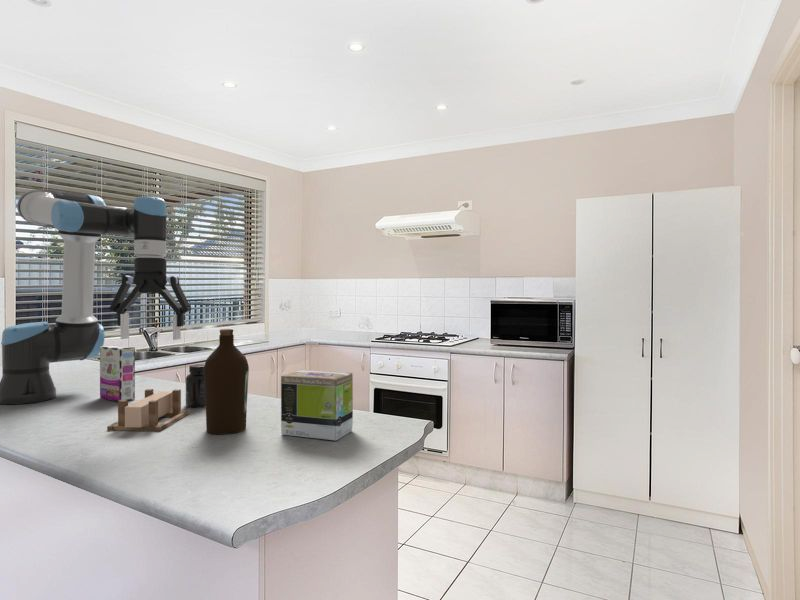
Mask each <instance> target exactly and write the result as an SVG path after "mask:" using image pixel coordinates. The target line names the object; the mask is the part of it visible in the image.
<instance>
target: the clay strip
mask: <svg viewBox="0 0 800 600" xmlns="http://www.w3.org/2000/svg"><path fill="white" fill-rule="evenodd" d="M151 400H158V419H160V418H162V417H161V416H163V415H165V414H166V413H168V412H170V411H172V391H163V390H162V391H158V392H157V391H156V392H155V393H153V395H150V396H148V397H146V398H145V397H144V398H142V399H140V400H137V401H135V402H133V403H130V404H128V406H126V407H125V427H139V428H141V427H143V426H145V425H147V424H148V423H149V401H151Z"/></svg>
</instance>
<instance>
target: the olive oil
mask: <svg viewBox="0 0 800 600" xmlns="http://www.w3.org/2000/svg"><path fill="white" fill-rule="evenodd" d="M234 337H235V335H234V329H231V328H225V329H219V338H218V339H219V344H218V346H217V347H216V348H215V349H214V350H213V351H212V352H211V353H210V354H209V355H208V357H206V360H205V362H204V384H205V402H206V407H205V421H206V423H205V424H206V425H205V427H206V432H208V433H209V434H212V435H230V434H236V433H240V432H243V431H244V430H246V428H247V411H248V410H247V407H248V389H249V375H250V373H249V371H250V370H249V369H250V367H249V363H248V359H247V357H246V356H245V355H244V354H243V352H241V351H240V350H239V349H238V347H236V346H235V344H234V341H235V340H234V339H235V338H234Z"/></svg>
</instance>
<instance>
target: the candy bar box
mask: <svg viewBox="0 0 800 600" xmlns="http://www.w3.org/2000/svg"><path fill="white" fill-rule="evenodd" d="M135 350H136V347H134V346H133V347H132V346H122V345H103V346H101V347H100V353H99V398H100V399H102V400H107V401H113V402H118V401H120V400H128V402H130V401H133V400H134V401H135V399H136V397H135V395H136V391H135V390H136V389H135V388H136V387H135V386H136V385H135V384H136V383H135V379H136V366H135V365H136V364H135V363H136V361H135V359H136V351H135Z"/></svg>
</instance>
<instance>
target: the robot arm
mask: <svg viewBox="0 0 800 600" xmlns="http://www.w3.org/2000/svg"><path fill="white" fill-rule="evenodd" d="M16 206H17V208H16V209H17V211H18V214H19V216H20V217H21V218H22V219H23V220H24V221H26V222H27V223H30V224H32V225H34V226H35V225H36V226H38V227H41V228H42V227H44V228H48V229H49V228H51V229H55V230H57V232H58V236H59V237H61V239H62V240H63V257H62V258H63V264H62V292H61V293H62V294H61V295H62V297H61V315H59V316H58V317H56V318H55V325H50V323H49V322H48V321H39V322H38V321H36V322H35V321H34V322H27V323H21V324H15V325H10V326H8V327H6V328H4V330H2V335H1V342H0V344H1V358H2V359H1V363H2V367H1V368H2V371H1V372H2V376H1V379H0V405H22V404H31V403H33V404H34V403H39V402H44V401H48V400H51V399H54V398H56V397H57V388H56V387H55V386H56V385H55V383H54V381H53V378H52V375H51V373H50V363H51V364H52V363H58V362H59V363H60V362H61V363H62V362H71V361H84V360H90V359H91V360H92V359H94V358H97V356H100V347H101V346H105V345H104V344H105V338H106V336H105V335H106V334H105V328H104V326H103V325H102V323H101V324H100V323H99V320H98V318H97V317H96V316H95V315H94V289H95V288H94V287H95V285H94V283H95V265H96V264H95V262H96V261H95V260H96V243H97V241H99V240H100V239H101V238H102V235H109V236H120V237H125V238H133V242H134V244H133V245H134V247H133V249H134V250H133V253H134V256H136V257H135V258H134V260H133V265H134V267H133V269H134V276H131V275H122V276H121V283H120V286H119V288H118V289H117V292H116V294H115V296H114V297H113V300H112V303H110V307H109V311H111V312H115V313H116V314H117V320H116V321H117V323H116V324H117V326H118V327H120V340H127V339H129V338H130V313H127V311H128V310H129V309H130V308H131V307H132V306H133V304H134V303H135V302H136V300H138V298H140V296H141V295H143V294H159V296H161V297H162V298H163V299H164V301H165V302H166V303H167V304H168V305H169V306H170V307H171V309H172V310H173V311H174V314H173V315H172V340H173V341H177V340H181V336H182V335H181V334H182V333H181V327H184V325H185V314H186V313H189V312H191V311H192V307H191V305H190V303H189V301H188V299H187V297H186V294H185V292H184V291H183V289H182V286H181V285H180V278H179V276H175V275H172V276H169V277H168V276H167V259H166V258H165V257H166V256H168V255H167V215H168V212H167V203H166V201H165V200H164V199H163V198H161V197H157V196H148V195H147V196H144V195H143V196H142V195H141V196H136V197H135V198H134V199H133V205H132V207H123V206H113V205H106V203H105V200H104V199H102V198H101V197H100V196H97V195H94V194H88V193H80V192H71V191H64V190H57V189H56V190H55V189H46V188H45V189H44V188H43V189H41V188H40V189H34V190H30V191H27V192H25V193H23V194H22V195H21V196H20V197H19V198H18V201H17V204H16ZM133 283H134V285H135V287H134V288H133V289H132V290H131V293H130V294H128V292H129V291H130V290H129V289H130V288H131V285H133ZM167 284H169V285H170V287H171V289H172V291H173V293H174V296H175V297H176V298H175V297H174V296H173V294H171V292H170V291H169V289H168V288H167V287H166V285H167ZM127 294H128V296H127ZM126 296H127V297H126ZM176 299H177V300H176Z"/></svg>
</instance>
